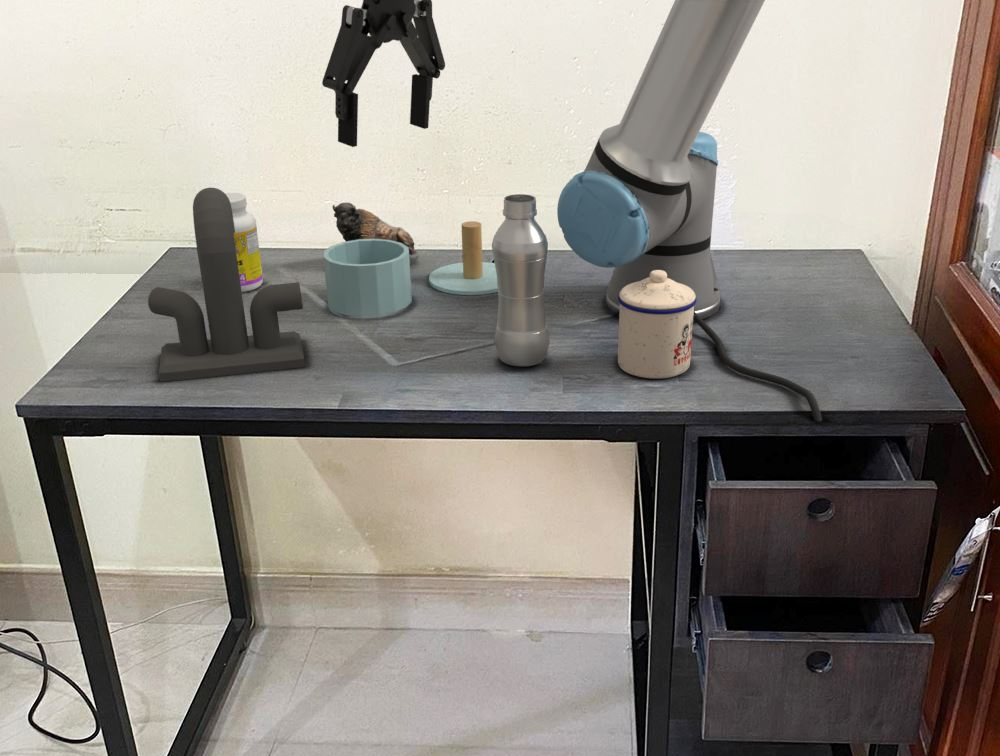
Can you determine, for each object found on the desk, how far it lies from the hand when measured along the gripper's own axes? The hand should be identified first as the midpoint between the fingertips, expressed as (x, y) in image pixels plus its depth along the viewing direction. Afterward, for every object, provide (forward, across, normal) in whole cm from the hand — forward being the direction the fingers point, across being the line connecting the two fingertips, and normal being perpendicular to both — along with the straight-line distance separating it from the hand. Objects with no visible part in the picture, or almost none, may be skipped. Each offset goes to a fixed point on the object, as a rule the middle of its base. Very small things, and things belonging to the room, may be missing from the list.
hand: (384, 135), depth 152 cm
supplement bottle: (+24, +11, -17) cm, 31 cm away
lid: (+20, -9, +10) cm, 24 cm away
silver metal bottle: (+18, +9, +33) cm, 38 cm away
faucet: (+22, +28, +1) cm, 35 cm away
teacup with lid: (+16, -1, +45) cm, 48 cm away
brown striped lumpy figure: (+22, -6, -5) cm, 24 cm away
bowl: (+21, +6, +4) cm, 22 cm away
